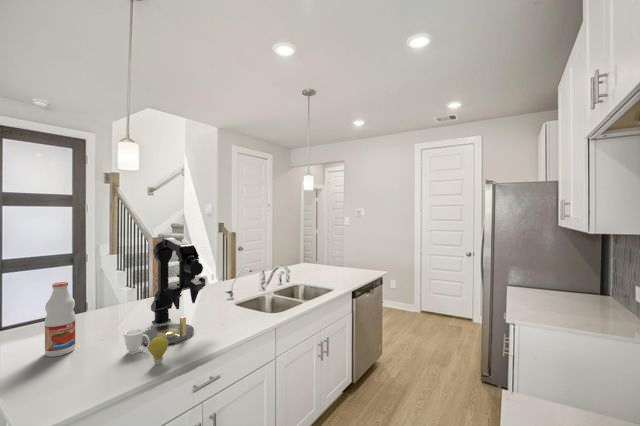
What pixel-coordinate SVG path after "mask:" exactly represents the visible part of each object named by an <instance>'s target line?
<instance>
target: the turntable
mask: <svg viewBox="0 0 640 426" xmlns="http://www.w3.org/2000/svg"><path fill="white" fill-rule="evenodd" d="M194 333H195V328H194V327H193V326H192V325H190V324H187V316H184V315H182V316H181V317H179V323H168V324H163V325H162V324H161V325H158V326H156V327H155V326H154V327H152V328H149V329H147V330H146V331H144V332H143V334H145V335H147V336H148V337H149V340H150V342H151V340H153V339H154V338H156V337H159V336H161V337H165V338H166V339H167V341H168V345H173V344H176V343H181V342H182V341H185V340H187V339H189V338H190V337H191V336H193V334H194ZM141 344H142V345H146V346H148V340H147V338H146V337H145V336H143V338H142V343H141Z"/></svg>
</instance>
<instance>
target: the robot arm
mask: <svg viewBox="0 0 640 426" xmlns="http://www.w3.org/2000/svg"><path fill="white" fill-rule="evenodd" d="M174 252H175V255H176V256H177V258H178V259H177V262H178V274H177V275H176V277H177V278H178V283H177V284H176V286H170V287H169V262H170V261H171V259H172V257H173V253H174ZM152 253H153V255H154V258H155V260H156V262H157V292H155V295H153V296H154V298H153V301H152V303H151V305H150V310H151V312H153V313H154V320H151V323H154V324H158V325H162V324H165V323H167V322H169V321H172V319H171V318H170V315H169V314H170V313H169V309H171V310H172V308H173V305H174V308H175V309H176V310H180V303H181V299H180V298H182V295H183V294H182V291H185V290H189V293H190V299H191V302H192V304H195V303H196V300H197V297H198V296H199V292H200V291H201V290H203V289H204V287H206V278H205V277H204V276H202V277H197V276H199V275H201V274H202V273H203V270H204V267H203V264H202V263H200V261H199V259H200V258H199V256H200V255H199V253H198V251H197V249H196V247H195V245H194V244H191V243H183V242H181V241H179V240H178V239H176V238H175V237H165V238H163V239H162V240H161V241H160V242H158V243H156V245H154V248H153V251H152Z"/></svg>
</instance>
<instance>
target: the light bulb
mask: <svg viewBox="0 0 640 426" xmlns="http://www.w3.org/2000/svg"><path fill="white" fill-rule="evenodd" d="M168 348H169V344H168V341H167V339H166V338H165V337H161V336H159V337H156V338H154V339H153V340H151V342H150V343H149V346H148V347H147V350H148V352H149V354H150V355H151V356H152V357H153V363H154V365H155V366H159V365H162V363H163V360H164V355H165V353H166V351H167V350H168Z"/></svg>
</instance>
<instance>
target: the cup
mask: <svg viewBox="0 0 640 426" xmlns="http://www.w3.org/2000/svg"><path fill="white" fill-rule="evenodd" d="M144 332H145V330H144V329H142V328H134V329H130V330H127V331H125V333H124V334H123V336H124V342H125V346H126V350H127V354H129V355H134V354H137V353H141V352H143V351H145V350H146V349H148V347H149V343H150V340H149V337H148V336H147V335H145V334H143V333H144ZM143 336H145V337H146V338H147V340H148V345H146V347H144V348H143V349H141V347H142V344H143V343H142V338H143Z"/></svg>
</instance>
